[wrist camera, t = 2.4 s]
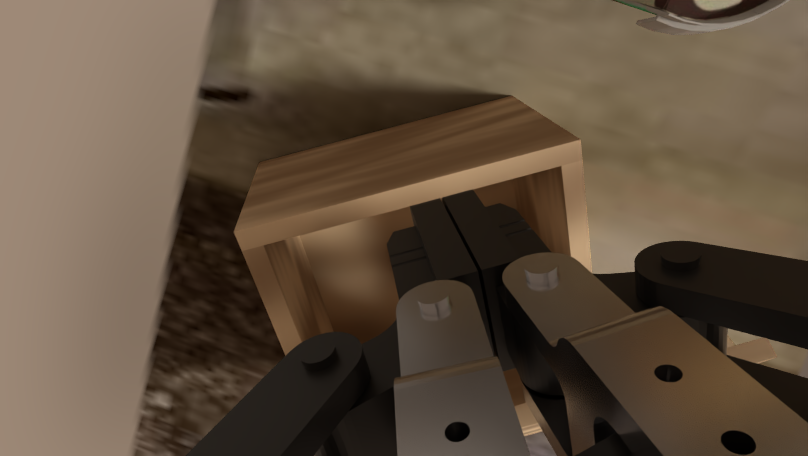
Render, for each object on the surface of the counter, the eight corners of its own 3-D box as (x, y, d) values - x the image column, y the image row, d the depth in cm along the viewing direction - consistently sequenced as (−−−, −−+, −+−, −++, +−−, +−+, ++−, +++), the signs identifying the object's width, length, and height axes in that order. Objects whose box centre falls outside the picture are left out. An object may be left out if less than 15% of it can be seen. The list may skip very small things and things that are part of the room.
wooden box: (255, 163, 33) (229, 233, 24) (511, 95, 33) (580, 139, 24) (330, 363, 40) (331, 475, 31) (541, 306, 40) (603, 400, 31)
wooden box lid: (195, 493, 15) (197, 517, 15) (766, 336, 16) (777, 357, 15) (326, 478, 31) (328, 490, 31) (612, 400, 31) (616, 410, 31)
